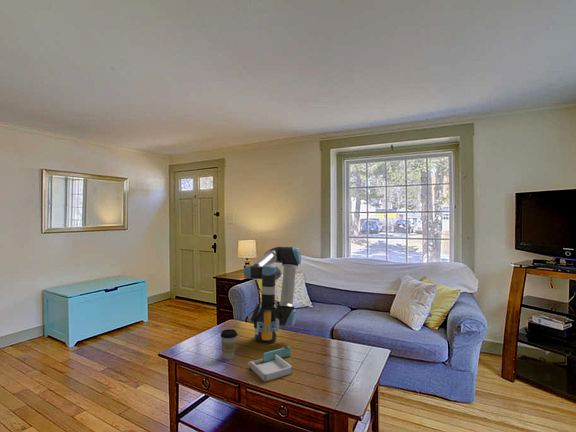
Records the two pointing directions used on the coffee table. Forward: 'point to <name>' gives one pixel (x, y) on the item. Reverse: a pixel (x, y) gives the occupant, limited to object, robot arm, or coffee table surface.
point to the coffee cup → (228, 343)
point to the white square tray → (271, 368)
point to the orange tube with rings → (267, 326)
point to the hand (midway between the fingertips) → (267, 332)
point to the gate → (280, 352)
